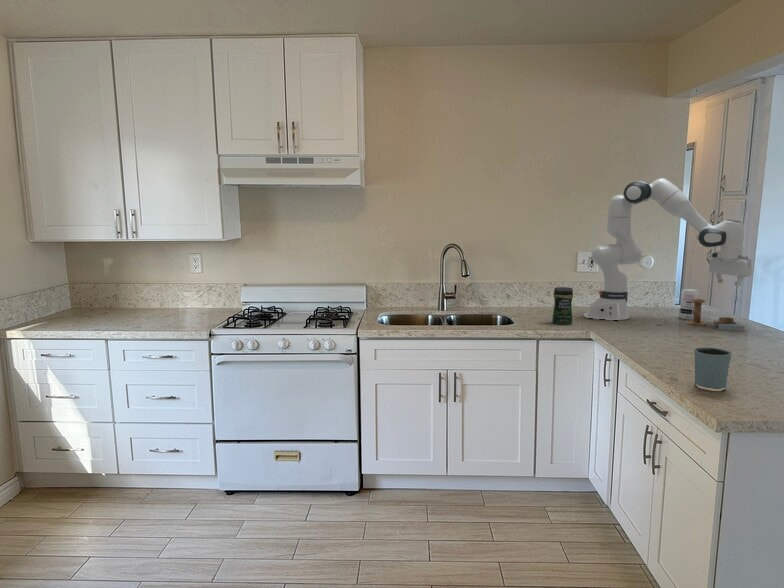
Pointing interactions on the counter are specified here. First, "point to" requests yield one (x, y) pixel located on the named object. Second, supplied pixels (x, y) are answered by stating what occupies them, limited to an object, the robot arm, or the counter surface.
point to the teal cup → (711, 367)
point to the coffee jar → (562, 305)
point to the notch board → (730, 326)
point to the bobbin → (697, 312)
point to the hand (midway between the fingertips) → (728, 284)
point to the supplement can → (688, 303)
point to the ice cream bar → (725, 320)
